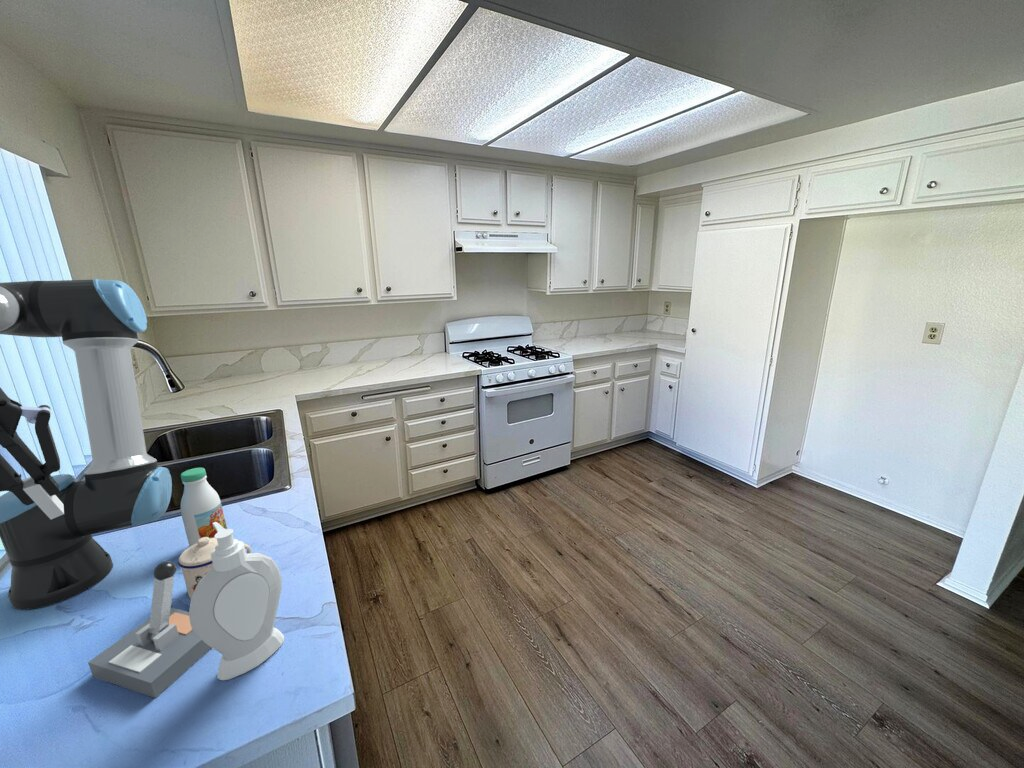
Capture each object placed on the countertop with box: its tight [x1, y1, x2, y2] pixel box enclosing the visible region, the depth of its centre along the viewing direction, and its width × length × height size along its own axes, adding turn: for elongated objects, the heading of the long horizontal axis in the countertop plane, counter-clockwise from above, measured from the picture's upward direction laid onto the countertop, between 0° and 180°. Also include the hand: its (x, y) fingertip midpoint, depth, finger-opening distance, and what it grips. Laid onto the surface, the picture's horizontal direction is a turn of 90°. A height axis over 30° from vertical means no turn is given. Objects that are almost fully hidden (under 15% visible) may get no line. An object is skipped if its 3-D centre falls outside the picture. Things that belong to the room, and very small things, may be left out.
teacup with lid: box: [177, 537, 252, 600], centre depth 85 cm, size 12×9×12 cm
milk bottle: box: [180, 467, 228, 548], centre depth 97 cm, size 8×8×20 cm
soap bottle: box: [188, 522, 285, 681], centre depth 67 cm, size 13×8×24 cm, turn 140°
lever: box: [147, 561, 177, 642], centre depth 70 cm, size 3×3×13 cm
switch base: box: [87, 607, 213, 699], centre depth 70 cm, size 12×14×5 cm
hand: (57, 511), depth 63 cm, fingers closed
